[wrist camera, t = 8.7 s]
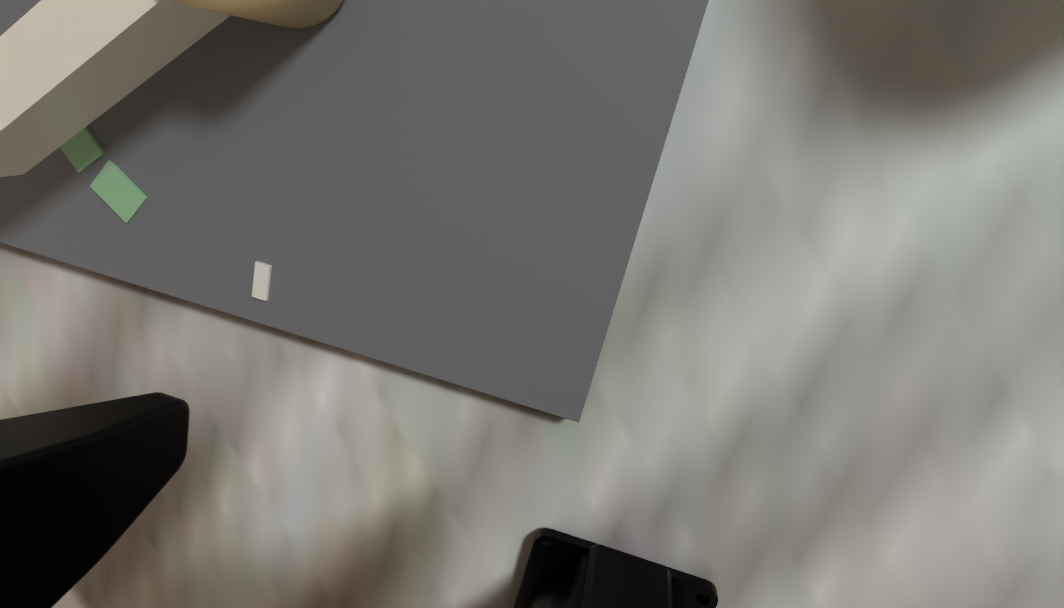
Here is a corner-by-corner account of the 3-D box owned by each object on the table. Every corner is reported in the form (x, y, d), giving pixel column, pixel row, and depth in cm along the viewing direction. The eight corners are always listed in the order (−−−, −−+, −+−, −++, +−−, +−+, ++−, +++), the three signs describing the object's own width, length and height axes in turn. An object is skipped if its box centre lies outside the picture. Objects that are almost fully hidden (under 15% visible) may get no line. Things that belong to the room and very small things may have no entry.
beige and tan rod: (305, -153, 16) (199, -232, 12) (378, -19, 17) (300, -55, 13) (7, 95, 20) (-144, 93, 16) (77, 198, 20) (-53, 219, 17)
